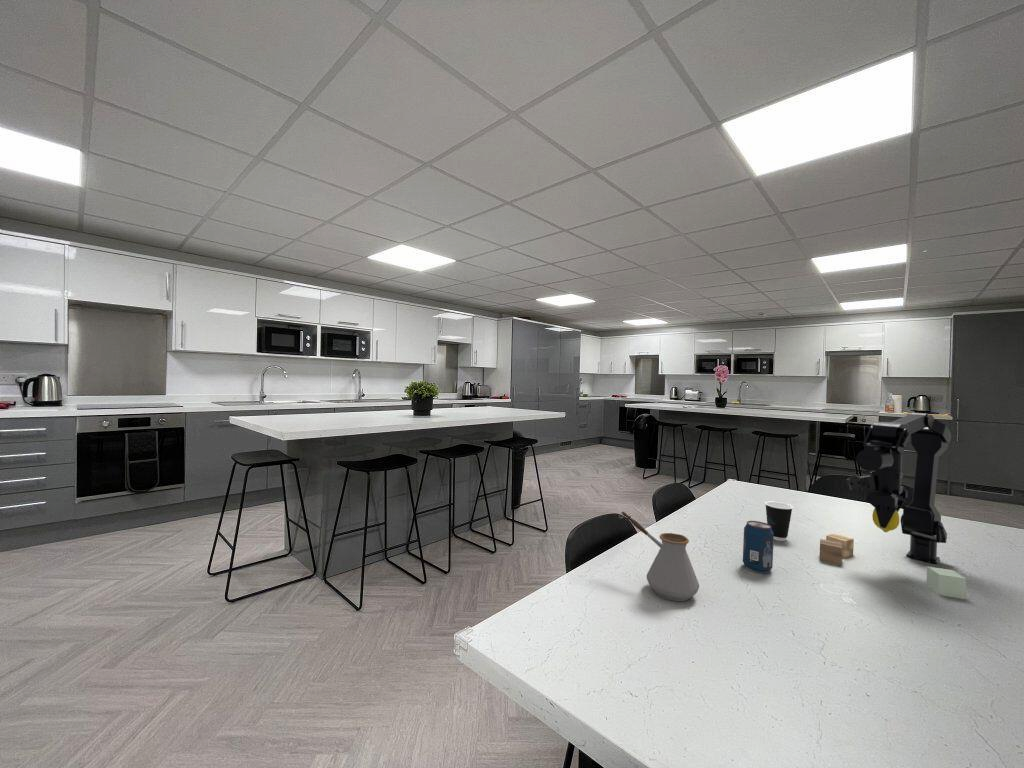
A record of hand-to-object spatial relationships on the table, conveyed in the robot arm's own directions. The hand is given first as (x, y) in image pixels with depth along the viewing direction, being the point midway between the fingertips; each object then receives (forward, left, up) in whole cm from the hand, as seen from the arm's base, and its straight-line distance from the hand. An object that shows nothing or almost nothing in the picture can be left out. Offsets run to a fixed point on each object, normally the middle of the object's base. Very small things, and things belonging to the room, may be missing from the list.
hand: (885, 525), depth 114 cm
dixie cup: (-3, -27, -13) cm, 30 cm away
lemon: (0, 0, -2) cm, 2 cm away
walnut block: (+4, -11, -13) cm, 17 cm away
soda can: (+29, -21, -13) cm, 38 cm away
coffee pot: (+61, -32, -13) cm, 70 cm away
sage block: (+3, +12, -13) cm, 18 cm away
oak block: (-5, -11, -13) cm, 17 cm away
